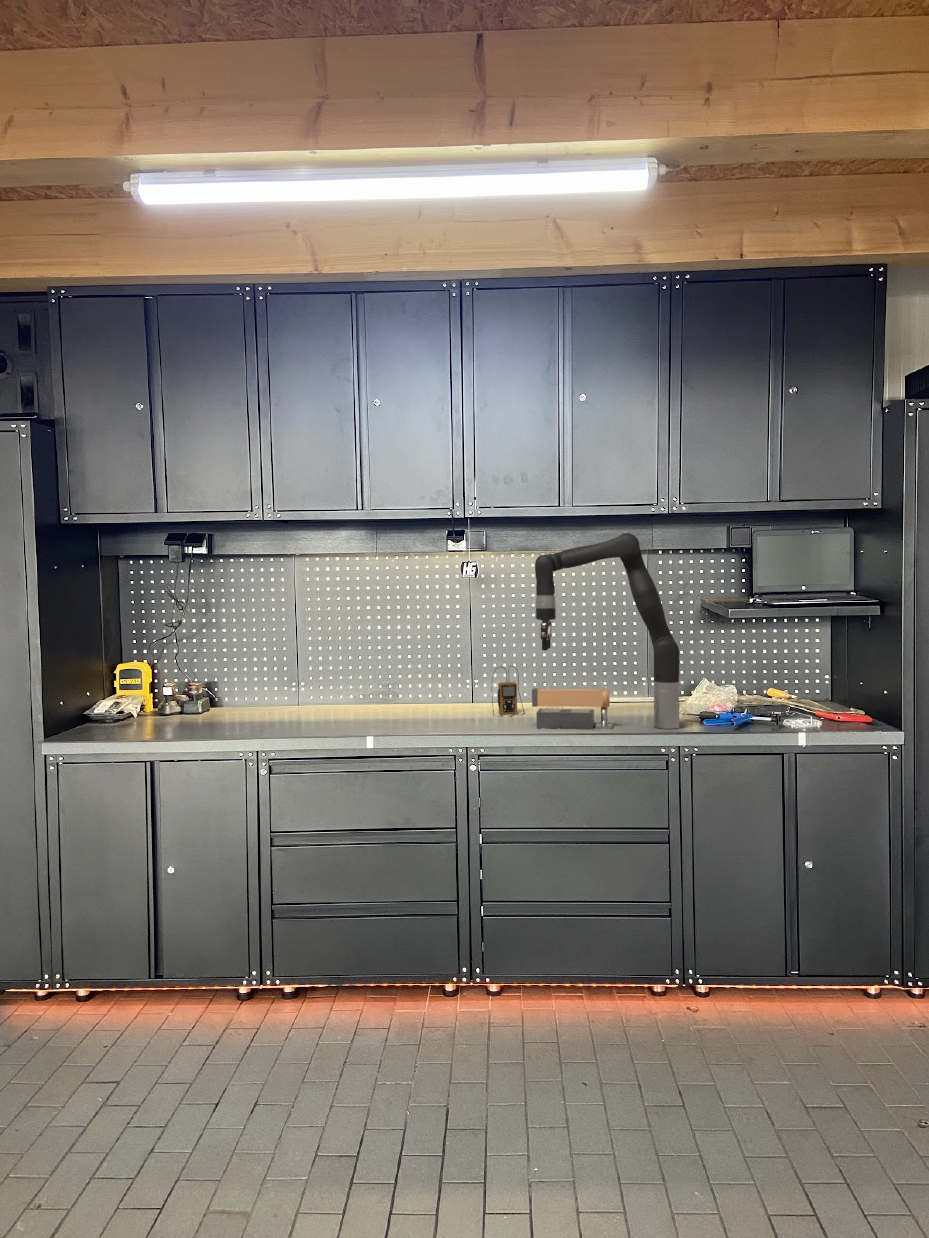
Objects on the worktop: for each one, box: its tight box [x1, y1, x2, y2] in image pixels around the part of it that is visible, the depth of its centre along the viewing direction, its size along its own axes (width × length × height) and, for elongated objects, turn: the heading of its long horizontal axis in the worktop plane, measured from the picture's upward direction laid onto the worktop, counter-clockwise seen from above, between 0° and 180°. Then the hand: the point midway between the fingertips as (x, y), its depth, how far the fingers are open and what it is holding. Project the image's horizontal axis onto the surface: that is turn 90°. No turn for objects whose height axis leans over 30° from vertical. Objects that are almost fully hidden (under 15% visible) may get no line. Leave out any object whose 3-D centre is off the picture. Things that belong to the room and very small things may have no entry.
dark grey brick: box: [536, 708, 595, 730], centre depth 349 cm, size 21×10×6 cm, turn 79°
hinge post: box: [595, 707, 614, 730], centre depth 346 cm, size 6×6×8 cm
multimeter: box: [490, 665, 526, 717], centre depth 377 cm, size 15×10×20 cm
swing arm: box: [531, 687, 611, 708], centre depth 348 cm, size 29×4×6 cm, turn 79°
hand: (546, 649), depth 352 cm, fingers open, 8 cm apart
